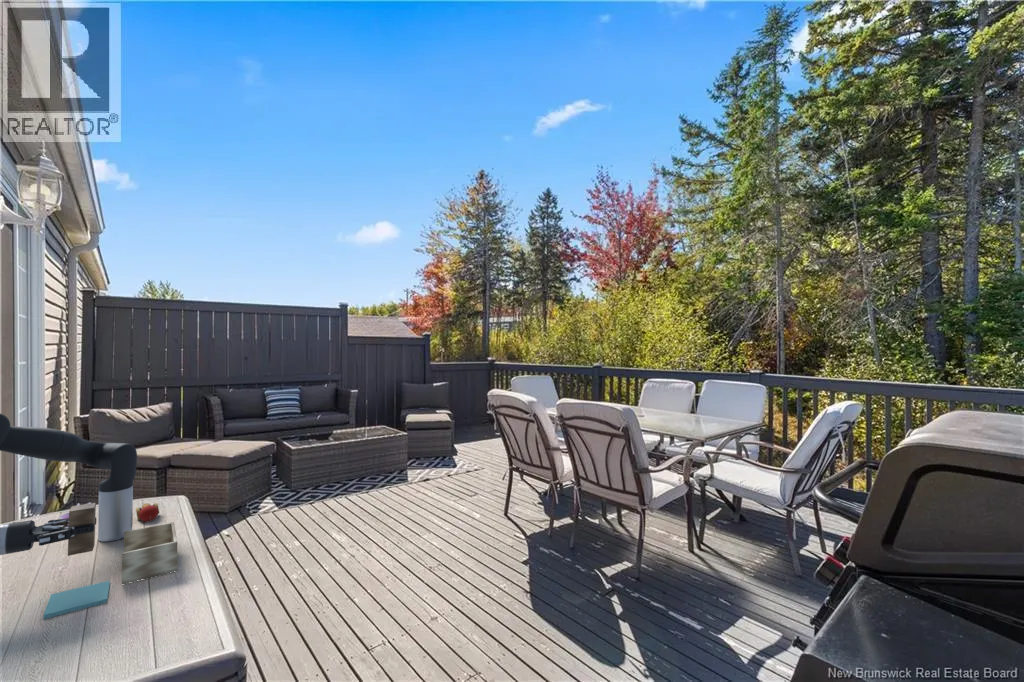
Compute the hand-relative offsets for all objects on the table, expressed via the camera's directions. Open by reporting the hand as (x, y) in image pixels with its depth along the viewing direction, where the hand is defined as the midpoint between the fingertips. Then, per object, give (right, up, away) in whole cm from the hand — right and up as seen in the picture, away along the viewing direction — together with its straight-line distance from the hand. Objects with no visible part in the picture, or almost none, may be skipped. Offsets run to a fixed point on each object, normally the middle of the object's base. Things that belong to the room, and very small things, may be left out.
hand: (94, 524), depth 129 cm
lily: (-43, -18, +38) cm, 60 cm away
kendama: (-28, -19, +53) cm, 62 cm away
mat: (+1, -18, -6) cm, 19 cm away
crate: (+5, -18, +13) cm, 23 cm away
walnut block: (-2, -7, -2) cm, 7 cm away
